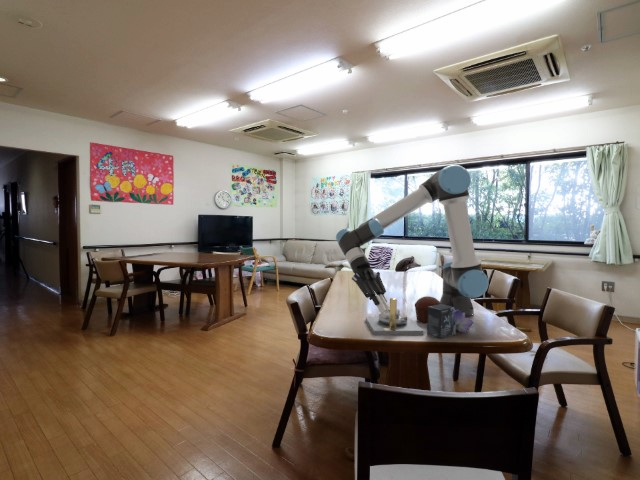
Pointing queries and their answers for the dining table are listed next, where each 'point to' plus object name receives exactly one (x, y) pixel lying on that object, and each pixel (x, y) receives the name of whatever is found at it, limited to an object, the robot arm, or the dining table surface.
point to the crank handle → (393, 316)
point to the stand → (384, 329)
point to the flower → (461, 322)
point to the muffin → (424, 308)
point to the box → (440, 321)
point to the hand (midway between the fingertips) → (385, 311)
